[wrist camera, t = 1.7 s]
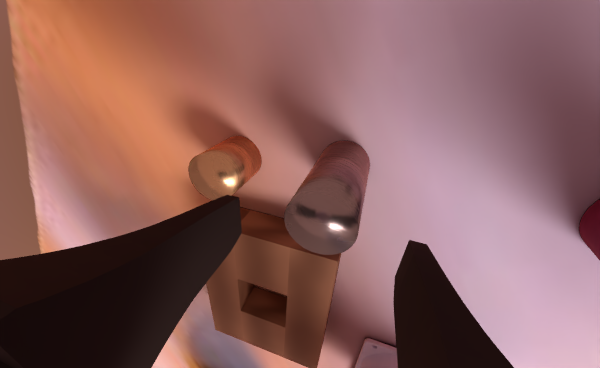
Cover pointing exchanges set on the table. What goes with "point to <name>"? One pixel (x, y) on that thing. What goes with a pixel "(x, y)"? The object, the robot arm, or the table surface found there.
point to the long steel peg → (330, 200)
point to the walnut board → (277, 277)
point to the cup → (591, 228)
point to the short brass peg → (225, 167)
